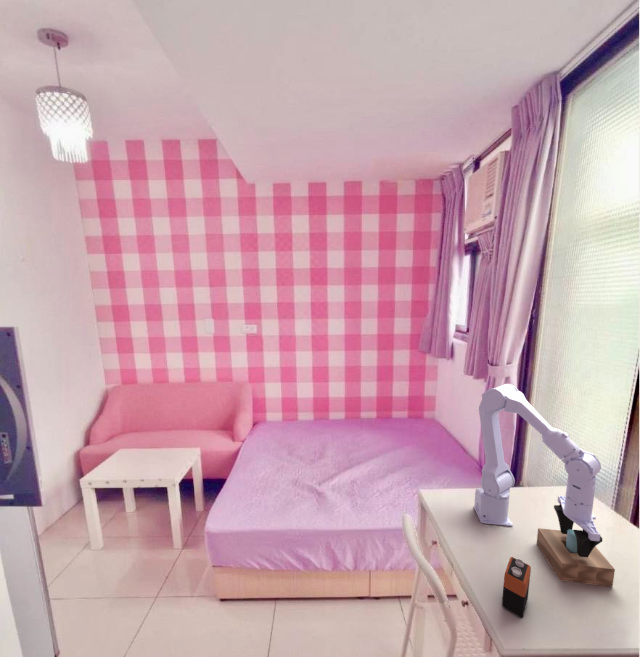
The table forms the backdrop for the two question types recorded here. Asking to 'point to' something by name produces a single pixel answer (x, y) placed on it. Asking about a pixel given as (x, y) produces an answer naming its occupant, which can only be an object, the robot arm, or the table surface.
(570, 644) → the table surface
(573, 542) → the teal peg
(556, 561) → the socket block
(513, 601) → the battery
